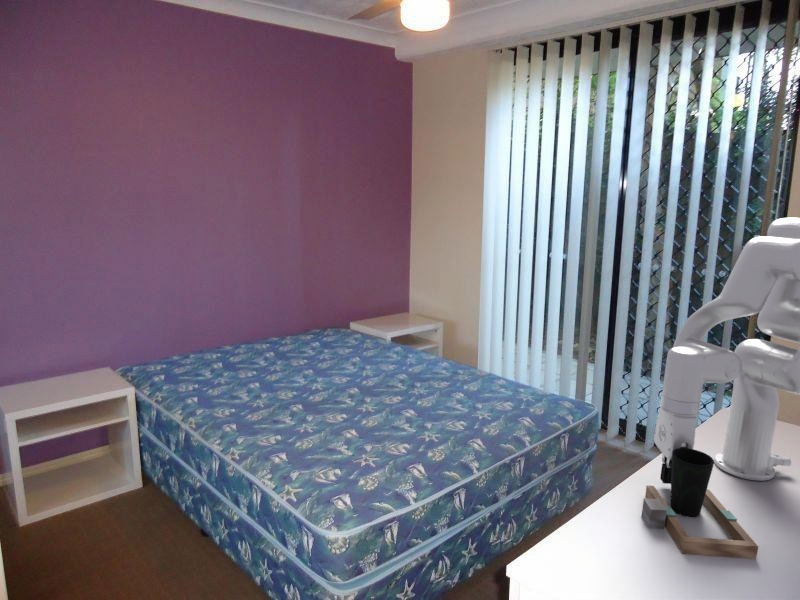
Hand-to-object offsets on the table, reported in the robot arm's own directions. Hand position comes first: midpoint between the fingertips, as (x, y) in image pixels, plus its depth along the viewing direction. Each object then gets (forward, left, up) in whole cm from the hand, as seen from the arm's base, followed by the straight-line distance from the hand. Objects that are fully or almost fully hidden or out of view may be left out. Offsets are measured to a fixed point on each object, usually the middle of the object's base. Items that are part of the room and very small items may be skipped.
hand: (668, 481), depth 127 cm
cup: (0, +9, -2) cm, 9 cm away
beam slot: (+2, +14, -1) cm, 14 cm away
